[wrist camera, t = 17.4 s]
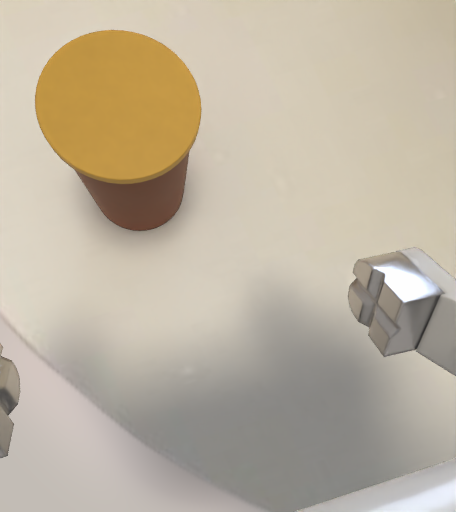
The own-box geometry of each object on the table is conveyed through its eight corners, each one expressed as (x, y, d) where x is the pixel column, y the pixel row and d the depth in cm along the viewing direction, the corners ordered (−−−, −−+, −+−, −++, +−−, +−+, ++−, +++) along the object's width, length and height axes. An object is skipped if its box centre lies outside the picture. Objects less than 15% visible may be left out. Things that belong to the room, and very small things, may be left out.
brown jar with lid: (197, 222, 19) (219, 161, 11) (103, 245, 18) (56, 196, 10) (173, 135, 20) (178, 19, 12) (80, 154, 19) (17, 41, 11)
